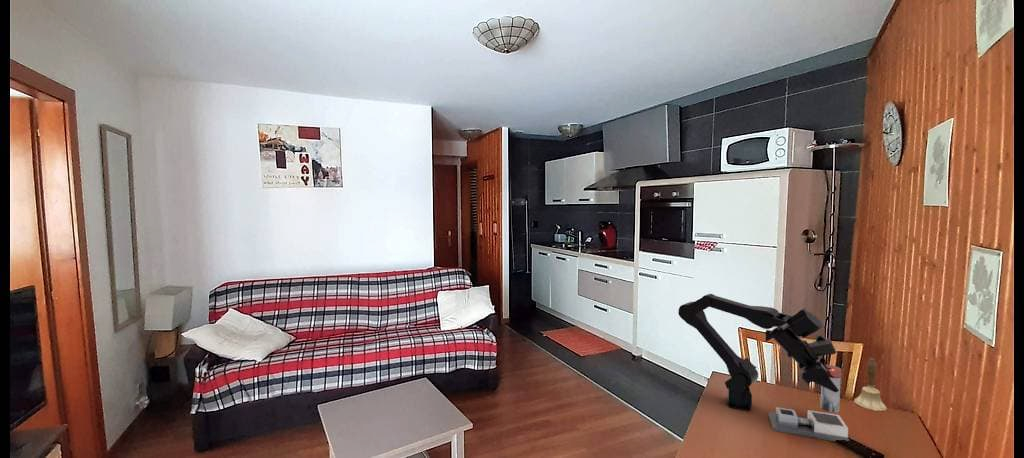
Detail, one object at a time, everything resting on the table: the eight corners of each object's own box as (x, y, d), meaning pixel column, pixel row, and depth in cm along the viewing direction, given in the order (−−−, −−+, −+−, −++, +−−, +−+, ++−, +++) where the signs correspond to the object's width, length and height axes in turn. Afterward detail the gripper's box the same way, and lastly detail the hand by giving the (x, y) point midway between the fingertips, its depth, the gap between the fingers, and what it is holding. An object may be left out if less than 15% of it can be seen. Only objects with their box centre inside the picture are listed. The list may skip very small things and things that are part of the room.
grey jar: (822, 411, 119) (824, 369, 118) (817, 403, 124) (819, 363, 123) (841, 414, 118) (844, 372, 117) (836, 406, 122) (838, 366, 121)
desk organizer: (773, 430, 121) (774, 416, 121) (768, 415, 130) (768, 403, 129) (848, 443, 114) (849, 429, 114) (838, 427, 122) (838, 414, 122)
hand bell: (893, 412, 131) (895, 364, 130) (863, 410, 132) (865, 362, 131) (876, 400, 139) (877, 354, 138) (848, 398, 140) (849, 353, 139)
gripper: (818, 338, 113) (868, 386, 108) (814, 321, 129) (858, 363, 123) (783, 359, 118) (829, 407, 113) (783, 341, 134) (824, 381, 128)
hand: (836, 388), depth 119 cm, fingers closed on grey jar, 4 cm apart
